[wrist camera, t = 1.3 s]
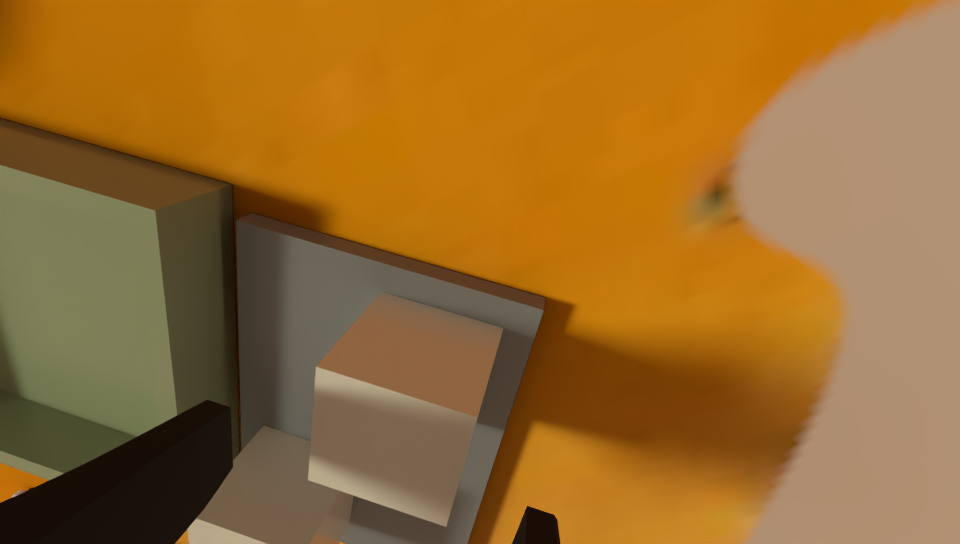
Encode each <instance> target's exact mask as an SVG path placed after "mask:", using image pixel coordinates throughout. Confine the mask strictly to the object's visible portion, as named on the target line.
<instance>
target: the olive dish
mask: <svg viewBox="0 0 960 544" xmlns="http://www.w3.org/2000/svg"><path fill="white" fill-rule="evenodd" d="M206 400H210V401H213V402H216V403H219V404H222V405H225V406H228V407H231V428H232V452H233V460H234V459H235V458H236V457H237V456H238V455H239V453H240V450H239V414H238V378H237V342H236V306H235V270H234V233H233V197H232V184H229V183H226V182H222V181H219V180H215V179H212V178H208V177H205V176H201V175H198V174H194V173H191V172H187V171H184V170H180V169H177V168H173V167H170V166H166V165H163V164H159V163H156V162H152V161H149V160H145V159H142V158H138V157H134V156H131V155H127V154H124V153H120V152H117V151H113V150H110V149H106V148H103V147H99V146H96V145H92V144H89V143H85V142H82V141H78V140H75V139H71V138H68V137H64V136H61V135H57V134H54V133H50V132H47V131H43V130H40V129H36V128H33V127H29V126H26V125H22V124H18V123H15V122H11V121H8V120H4V119H1V118H0V463H3V464H6V465H8V466H11V467H14V468H17V469H20V470H22V471H25V472H28V473H31V474H34V475H36V476H39V477H42V478H45V479H48V480H51V479H53V478H55V477H58V476H60V475H62V474H64V473H66V472H68V471H70V470H72V469H74V468H76V467H79V466H81V465H83V464H85V463H87V462H89V461H91V460H93V459H95V458H96V457H98V456H100V455H102V454H104V453H106V452H108V451H110V450H112V449H114V448H116V447H118V446H120V445H122V444H124V443H126V442H128V441H130V440H132V439H133V438H135V437H137V436H139V435H141V434H143V433H145V432H147V431H149V430H150V429H152V428H154V427H156V426H158V425H160V424H162V423H164V422H165V421H167V420H169V419H171V418H173V417H175V416H177V415H179V414H181V413H182V412H184V411H186V410H188V409H190V408H192V407H194V406H196V405H198V404H200V403H202V402H204V401H206Z"/></svg>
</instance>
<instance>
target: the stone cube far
mask: <svg viewBox="0 0 960 544" xmlns="http://www.w3.org/2000/svg"><path fill="white" fill-rule="evenodd" d="M310 444H311V441H309V440H306V439H303V438H300V437H297V436H294V435H291V434H288V433H285V432H282V431H279V430H276V429H272V428H269V427H266V426H263V427H262V428H261V430H260V431H259V432H258V433H257V434H256V435H255V436H254V437H253V439H252V440H251V441H250V442H249V443H248V444H247V445H246V447H245V448H244V449H243V450H242V451H241V452H240V453H239V455H238V456H237V457H236V458H235V459H234V460H233V468H232V470H231V471H230V473H229V474H228V475H227V477H226V478H225V480H224V481H223V483H222V484H221V486H220V487H219V489H218V490H217V492H216V493H215V494H214V496H213V497H212V499H211V500H210V502H209V503H208V504H207V506H206V507H205V509H204V510H203V511H202V512H201V513H200V515H199V516H198V517H197V518H196V519H195V521H194V522H193V523H192V524H191V525H190V526H189V528H188V529H187V530H188V539H189V544H339V543H340V541H341V539H342V537H343V535H344V533H345V531H346V529H347V527H348V525H349V523H350V516H351V509H352V502H353V495H351V494H348V493H345V492H342V491H339V490H336V489H333V488H330V487H327V486H324V485H321V484H318V483H315V482H312V481H309V480H308V473H309V459H310Z"/></svg>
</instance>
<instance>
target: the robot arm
mask: <svg viewBox="0 0 960 544" xmlns="http://www.w3.org/2000/svg"><path fill="white" fill-rule="evenodd" d="M232 468H233V452H232V428H231V407H228V406H225V405H222V404H219V403H216V402H213V401H210V400H206V401H204V402H202V403H200V404H198V405H196V406H194V407H192V408H190V409H188V410H186V411H184V412H182V413H181V414H179V415H177V416H175V417H173V418H171V419H169V420H167V421H165V422H164V423H162V424H160V425H158V426H156V427H154V428H152V429H150V430H149V431H147V432H145V433H143V434H141V435H139V436H137V437H135V438H133V439H132V440H130V441H128V442H126V443H124V444H122V445H120V446H118V447H116V448H114V449H112V450H110V451H108V452H106V453H104V454H102V455H100V456H98V457H96V458H95V459H93V460H91V461H89V462H87V463H85V464H83V465H81V466H79V467H76V468H74V469H72V470H70V471H68V472H66V473H64V474H62V475H60V476H58V477H55V478H53V479H51V480H49V481H47V482H45V483H43V484H41V485H39V486H37V487H34V488H32V489H30V490H28V491H25V490H19V491H18V492H16V493H15V494H14V495H13V496H12V498H10V499H8V500H6V501H4V502H1V503H0V544H175V543H176V542H177V540H178V539H179V538H180V537H181V536H182V535H183V533H184V532H185V531H186V530H187V529H188V528H189V526H190V525H191V524H192V523H193V522H194V521H195V519H196V518H197V517H198V516H199V515H200V513H201V512H202V511H203V510H204V509H205V507H206V506H207V504H208V503H209V502H210V500H211V499H212V497H213V496H214V494H215V493H216V492H217V490H218V489H219V487H220V486H221V484H222V483H223V481H224V480H225V478H226V477H227V475H228V474H229V473H230V471H231V470H232ZM512 544H560V538H559V531H558V522H557V519H556V517H555V516H554V515H553V514H550V513H547V512H544V511H541V510H538V509H535V508H532V507H529V506H527V508H526V510H525V513H524V515H523V518H522V520H521V523H520V525H519V528H518V530H517V533H516V535H515V538H514V540H513V543H512Z"/></svg>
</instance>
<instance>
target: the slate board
mask: <svg viewBox="0 0 960 544" xmlns="http://www.w3.org/2000/svg"><path fill="white" fill-rule="evenodd" d="M236 248H237V288H238V328H239V368H240V408H241V448H242V450H243V449H244V448H245V447H246V445H247V444H248V443H249V442H250V441H251V440H252V439H253V437H254V436H255V435H256V434H257V433H258V432H259V431H260V430H261V428H262V427H263V426H266V427H269V428H272V429H276V430H279V431H282V432H285V433H288V434H291V435H294V436H297V437H300V438H303V439H306V440H309V441H311V430H312V416H313V401H314V387H315V372H316V366H317V365H318V364H319V362H320V361H321V360H322V359H323V358H324V357H325V356H326V354H327V353H328V352H329V351H330V350H331V349H332V348H333V346H334V345H335V344H336V343H337V342H338V341H339V340H340V338H341V337H342V336H343V335H344V334H345V333H346V332H347V330H348V329H349V328H350V327H351V326H352V325H353V324H354V322H355V321H356V320H357V319H358V318H359V317H360V316H361V315H362V313H363V312H364V311H365V310H366V309H367V308H368V307H369V305H370V304H371V303H372V302H373V301H374V300H375V299H376V297H377V296H378V295H379V294H380V293H381V292H384V293H387V294H391V295H394V296H397V297H401V298H404V299H407V300H411V301H414V302H417V303H421V304H424V305H428V306H431V307H434V308H438V309H441V310H444V311H448V312H451V313H454V314H458V315H461V316H465V317H468V318H471V319H475V320H478V321H481V322H485V323H488V324H491V325H495V326H498V327H502V328H503V332H502V335H501V339H500V342H499V346H498V349H497V353H496V356H495V360H494V363H493V367H492V370H491V374H490V377H489V380H488V384H487V387H486V391H485V394H484V398H483V401H482V405H481V408H480V412H479V415H478V419H477V422H476V426H475V429H474V433H473V436H472V440H471V443H470V446H469V450H468V453H467V457H466V460H465V464H464V467H463V471H462V474H461V478H460V481H459V485H458V488H457V491H456V495H455V498H454V502H453V505H452V509H451V512H450V516H449V519H448V523H447V526H446V527H445V526H442V525H439V524H436V523H433V522H430V521H427V520H424V519H421V518H418V517H415V516H413V515H410V514H407V513H404V512H401V511H398V510H395V509H392V508H389V507H386V506H383V505H380V504H377V503H374V502H371V501H368V500H365V499H362V498H359V497H356V496H354V495H353V502H352V509H351V516H350V523H349V525H348V527H347V529H346V531H345V533H344V535H343V537H342V539H341V541H340V542H343V543H346V544H467V543H468V540H469V537H470V534H471V531H472V528H473V525H474V522H475V519H476V516H477V513H478V510H479V507H480V504H481V501H482V498H483V495H484V491H485V488H486V485H487V482H488V479H489V476H490V473H491V470H492V467H493V464H494V461H495V458H496V455H497V452H498V449H499V446H500V443H501V440H502V437H503V434H504V430H505V427H506V424H507V421H508V418H509V415H510V412H511V409H512V406H513V403H514V400H515V397H516V394H517V391H518V388H519V385H520V382H521V379H522V376H523V373H524V369H525V366H526V363H527V360H528V357H529V354H530V351H531V348H532V345H533V342H534V339H535V336H536V333H537V330H538V327H539V324H540V321H541V318H542V315H543V312H544V306H545V300H546V298H545V297H541V296H538V295H534V294H531V293H527V292H524V291H520V290H517V289H513V288H510V287H506V286H503V285H500V284H496V283H493V282H489V281H486V280H482V279H479V278H475V277H472V276H468V275H465V274H462V273H458V272H455V271H451V270H448V269H444V268H441V267H437V266H434V265H430V264H427V263H423V262H420V261H417V260H413V259H410V258H406V257H403V256H399V255H396V254H392V253H389V252H385V251H382V250H379V249H375V248H372V247H368V246H365V245H361V244H358V243H354V242H351V241H347V240H344V239H340V238H337V237H334V236H330V235H327V234H323V233H320V232H316V231H313V230H309V229H306V228H302V227H299V226H295V225H292V224H289V223H285V222H282V221H278V220H275V219H271V218H268V217H264V216H261V215H257V214H254V213H251V214H249V215H246V216H244V217H242V218H240V219H238V220H236Z"/></svg>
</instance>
